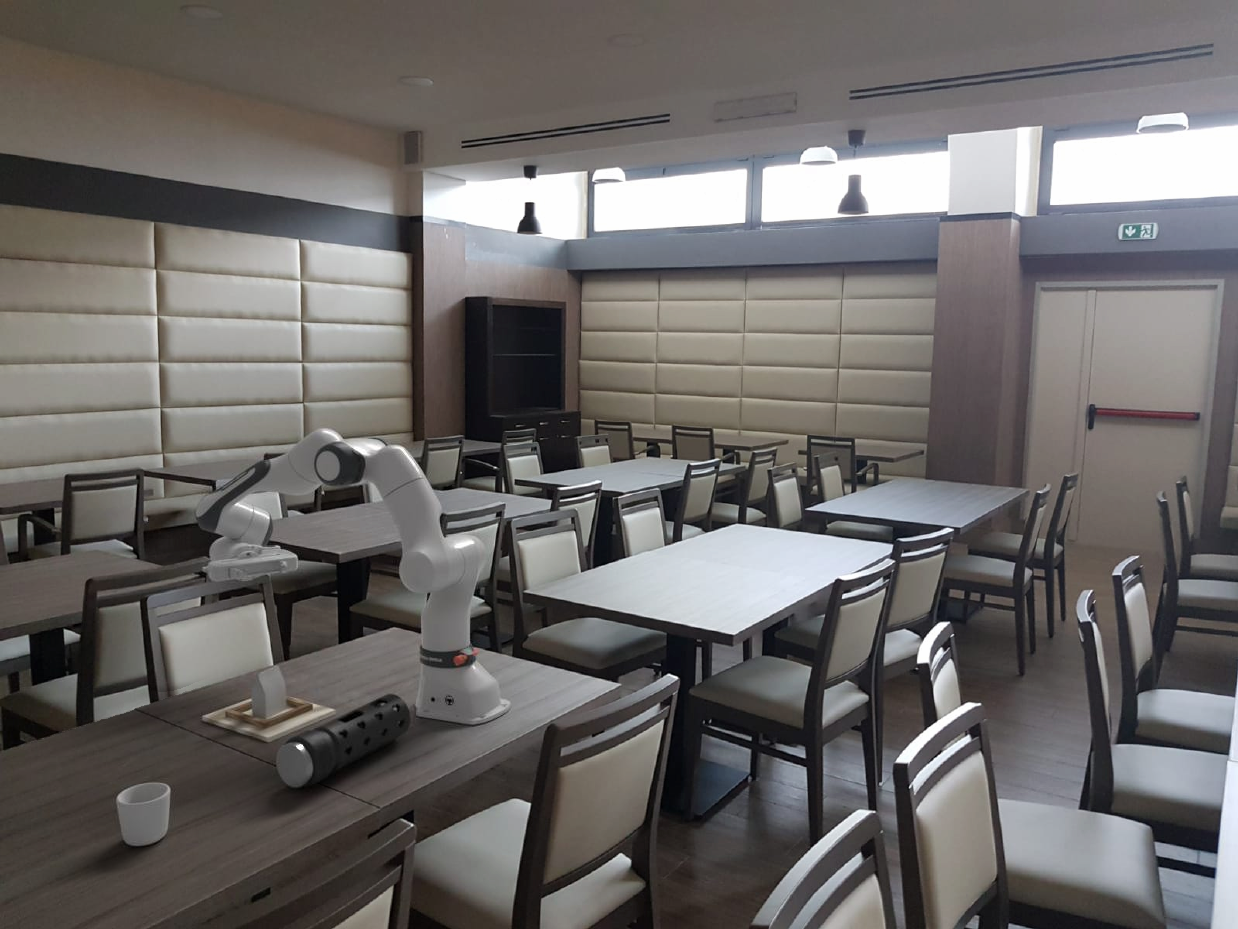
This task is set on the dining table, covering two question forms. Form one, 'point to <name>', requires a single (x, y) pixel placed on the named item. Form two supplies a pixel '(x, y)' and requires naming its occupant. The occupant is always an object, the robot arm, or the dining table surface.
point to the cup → (144, 813)
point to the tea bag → (268, 693)
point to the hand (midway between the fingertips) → (264, 572)
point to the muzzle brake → (341, 741)
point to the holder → (269, 719)
